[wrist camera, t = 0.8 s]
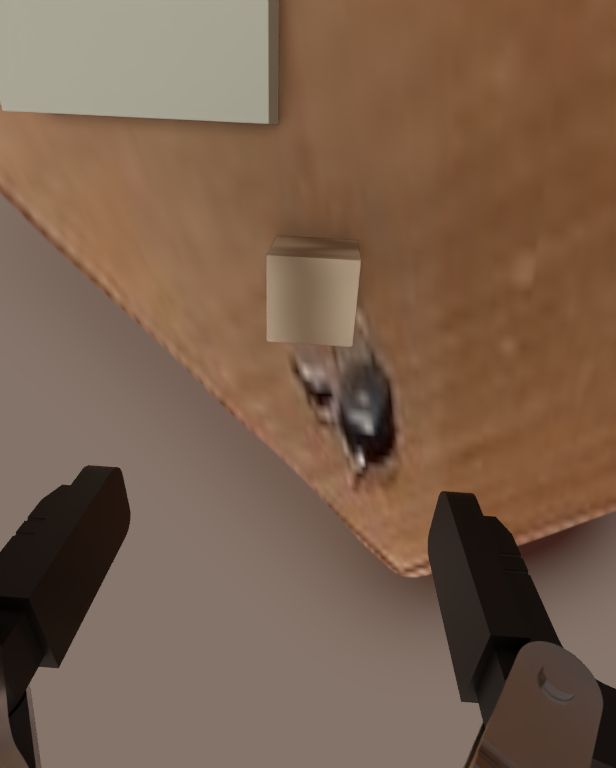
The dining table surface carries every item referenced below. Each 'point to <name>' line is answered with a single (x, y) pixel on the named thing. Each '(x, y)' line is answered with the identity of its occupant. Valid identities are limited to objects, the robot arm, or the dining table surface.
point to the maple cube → (312, 290)
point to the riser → (142, 58)
